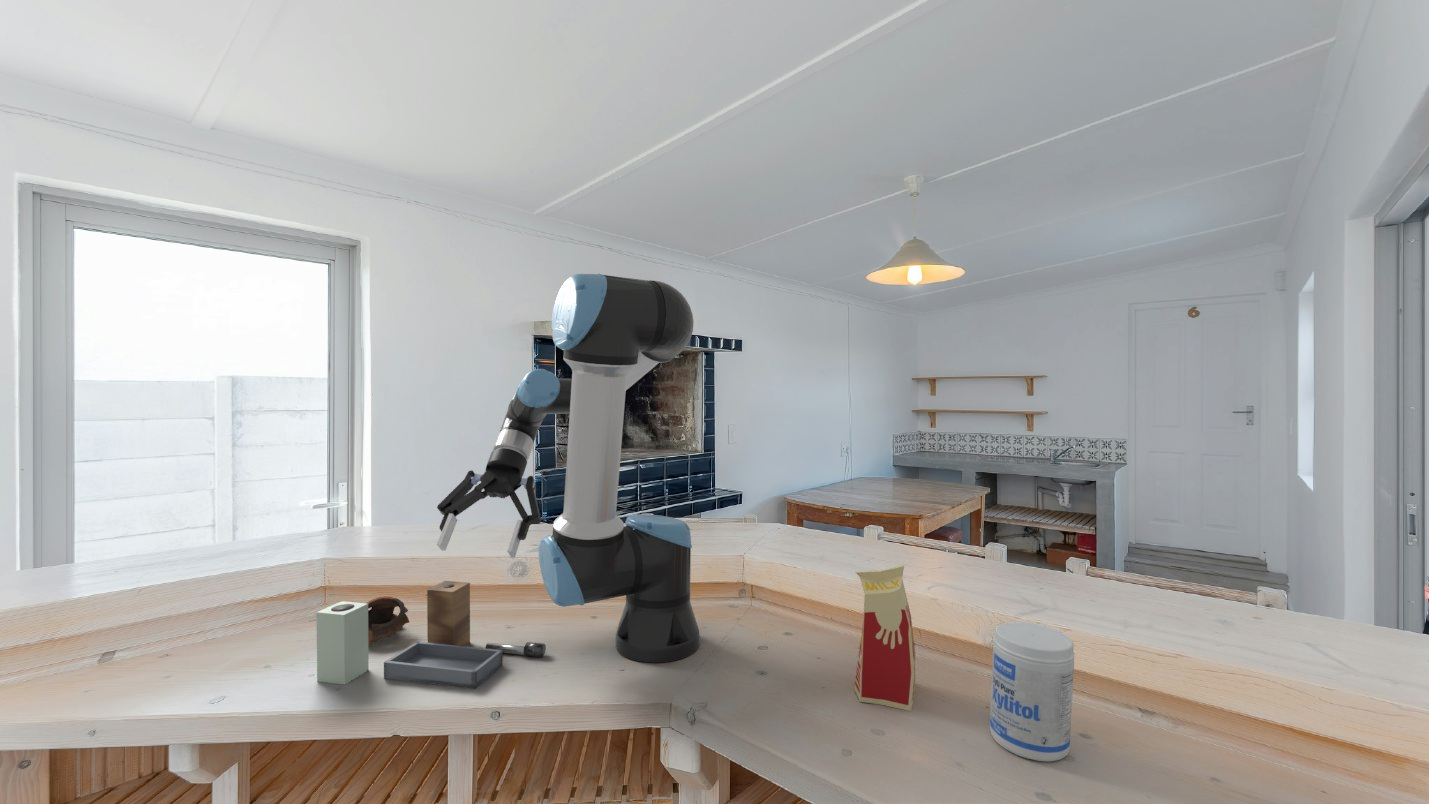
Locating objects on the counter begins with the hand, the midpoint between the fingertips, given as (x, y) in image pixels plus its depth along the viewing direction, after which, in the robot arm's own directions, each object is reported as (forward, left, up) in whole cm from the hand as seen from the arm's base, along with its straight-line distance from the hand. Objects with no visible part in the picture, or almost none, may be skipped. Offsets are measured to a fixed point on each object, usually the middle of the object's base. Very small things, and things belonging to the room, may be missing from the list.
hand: (475, 551), depth 116 cm
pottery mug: (+17, +6, -16) cm, 24 cm away
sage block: (+11, +20, -15) cm, 27 cm away
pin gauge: (-12, +7, -15) cm, 21 cm away
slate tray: (-4, +16, -15) cm, 22 cm away
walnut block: (+1, +7, -15) cm, 17 cm away
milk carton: (-74, +7, -16) cm, 76 cm away
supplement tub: (-92, +17, -16) cm, 95 cm away
